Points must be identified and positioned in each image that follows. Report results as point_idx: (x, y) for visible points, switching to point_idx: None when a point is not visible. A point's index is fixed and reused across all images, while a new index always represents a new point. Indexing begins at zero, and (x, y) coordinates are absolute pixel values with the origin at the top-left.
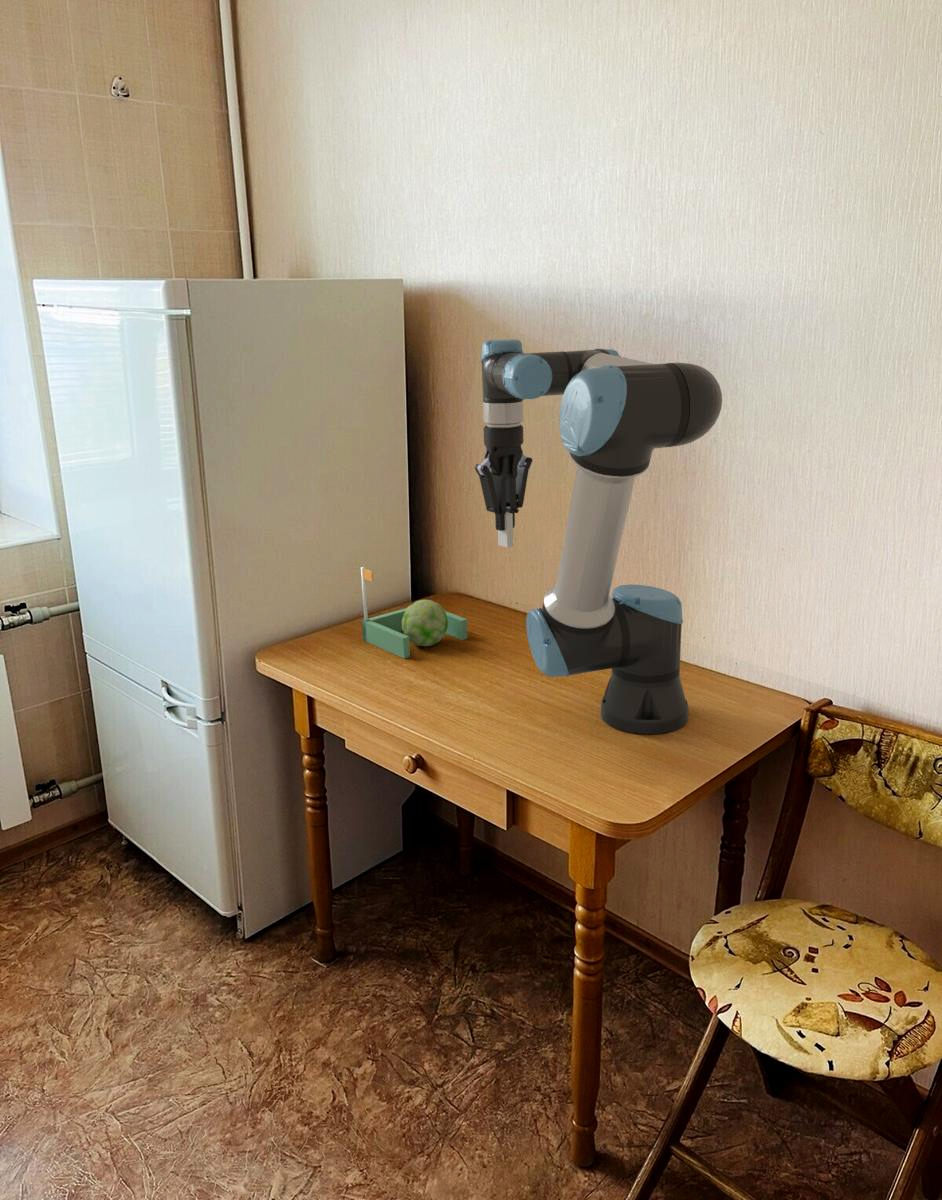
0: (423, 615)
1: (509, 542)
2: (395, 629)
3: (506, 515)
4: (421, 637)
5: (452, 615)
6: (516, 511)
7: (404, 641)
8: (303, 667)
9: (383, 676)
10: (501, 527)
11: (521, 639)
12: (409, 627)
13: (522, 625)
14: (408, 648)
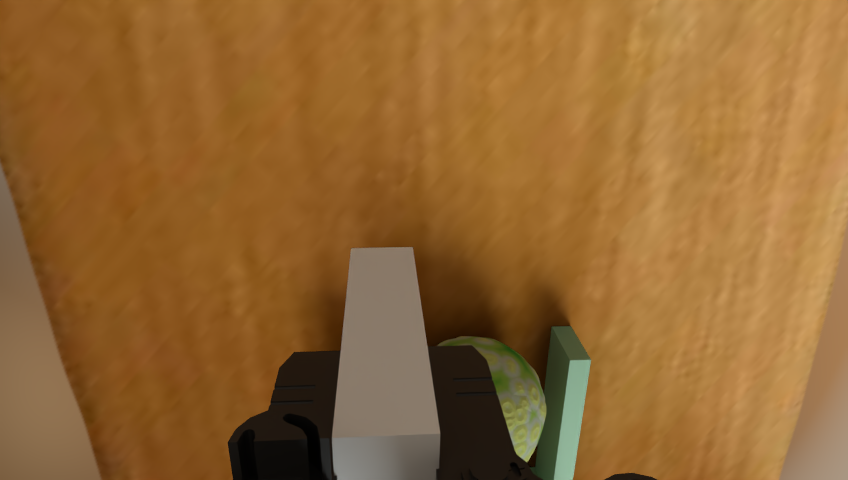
0: (522, 398)
1: (391, 262)
2: None
3: (438, 432)
4: (519, 354)
5: None
6: (285, 425)
7: (583, 353)
8: (757, 425)
9: (689, 266)
10: (471, 366)
11: (223, 227)
12: (544, 396)
13: (144, 313)
14: (563, 340)
